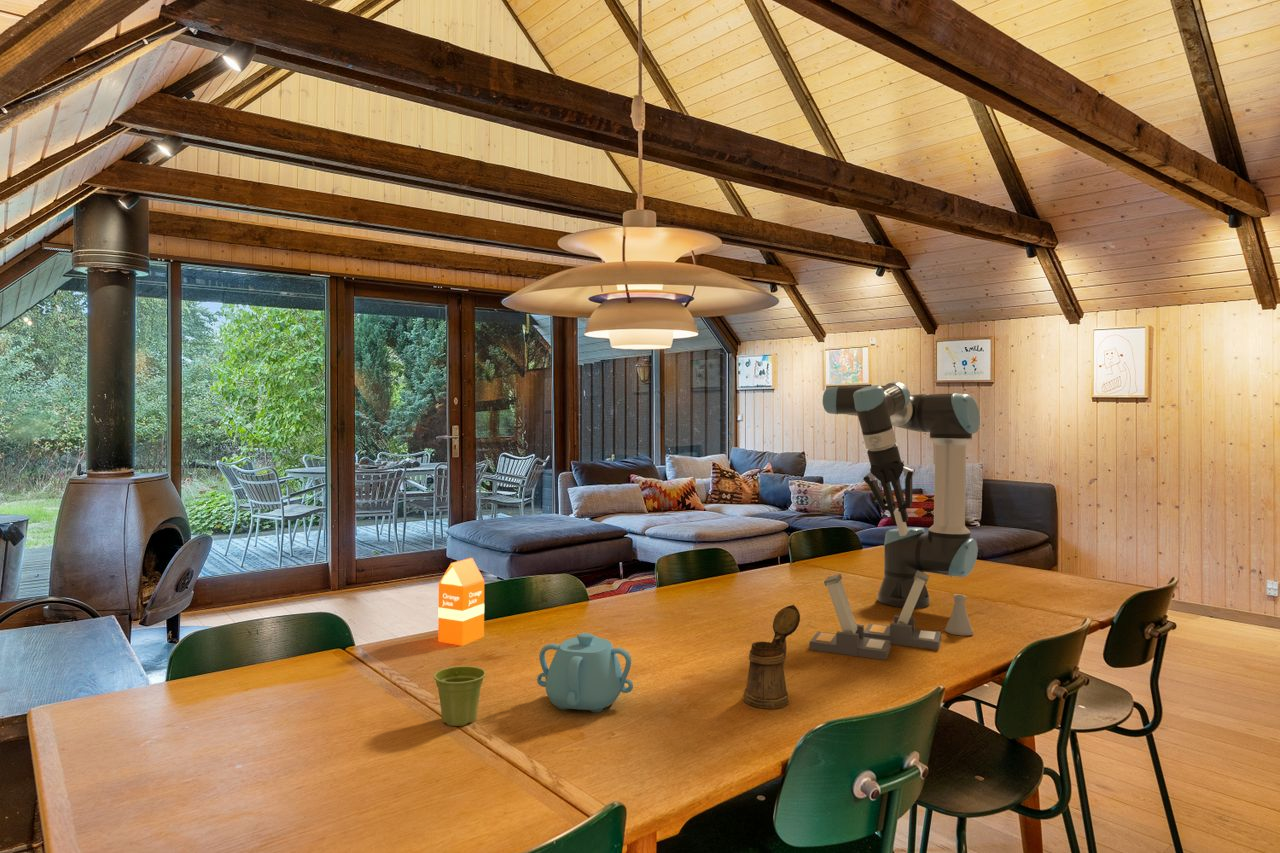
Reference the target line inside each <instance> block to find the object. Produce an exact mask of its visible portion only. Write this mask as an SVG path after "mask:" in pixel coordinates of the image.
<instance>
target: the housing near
mask: <svg viewBox="0 0 1280 853" xmlns="http://www.w3.org/2000/svg"><path fill="white" fill-rule="evenodd" d="M856 625H857V631H856V633H848V632H842V631H838V630H837V632H836V633H835V632H833V633H832V632H828V631H827V632H825V631H820V630H818V631H817V632H816V633H815V634H814V635H813V637H812V638H811V639H810V640H809V650H811V651H818V652H824V653H825V652H826V653H832V654H838V655H846V656H851V657H852V656H853V657H860V658H868V659H869V658H870V659H875V660H884V661H886V660H887V658H888V655H889V653H890V652H891V649H892V646H891V645H892V644H891V641H890V640H882V639H874V638H867V637H864V631H865V625H864V624H858V623H856Z"/></svg>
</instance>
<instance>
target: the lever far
mask: <svg viewBox="0 0 1280 853" xmlns="http://www.w3.org/2000/svg"><path fill="white" fill-rule="evenodd" d="M929 578H930V574H927V573H926V572H924V573H923V572H920V571H918V570H917V572H916V574H915V576H914V579H915V581H914V583H913V586H912V588H911V590H910V593H909V595H908V598H907V600H906V602H905V605H904V607H902V609H901V612H900V615H899V616H900V617H899V619H898V621H897V624H905V625H907V624H908V622H909V619H910V617H912V614H913V612H914V610H915V608H914V607H915V605H916V603H917V600H918V598H919V596H920V593H921V591H922V588H923V586H924V584H925V585H927V583H928V581H929Z"/></svg>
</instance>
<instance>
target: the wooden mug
mask: <svg viewBox="0 0 1280 853" xmlns="http://www.w3.org/2000/svg"><path fill="white" fill-rule="evenodd" d="M800 622H801V614H800V611H799V609H798V608H797V606H796V605H795V604H791V605H787V606H785V607H783V608H782V609H780V610H778V611H777V613H776V615H774V619H773V622H772V630H773V632H774V637H773V638H772V640H771V642H768V641H755V642H753V643H751V649H750V650H749V654H748V660H749V668H748V672H747V680H746V685H745V686H746V687H745V688H744V689H745V690H744V691H743V692H744V693H743V701H744V703H746V704H748V705H749V706H752V707H755V708H759V709H766V710H767V709H769V710H773V709H775V710H776V709H781V708H784V707H786V706H787V705H788V704H789V692H788V691H787V684H786V675H785V666H784V664H785V661H786V658H787V637H788V636H790V635H791V636H792V634H794V633H795V631H796V630H797V629H798V627H799V624H800Z"/></svg>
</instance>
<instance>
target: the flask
mask: <svg viewBox="0 0 1280 853" xmlns="http://www.w3.org/2000/svg"><path fill="white" fill-rule="evenodd" d="M953 598H954V603H953V607H952V612H951V614H950V616H949V619H948V621H947V624H946V627H945V631H944V632H946V633H948V634H950V635H953V636H954V635H956V636H963V637H964V636H973V635H974V631H973V628H972V625H971V622H970V620H969V616H968V613H967V610H966V603H965V602H966V598H967V595H964V594H959V593H958V594H957V593H956V594H955V593H954V594H953Z"/></svg>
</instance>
